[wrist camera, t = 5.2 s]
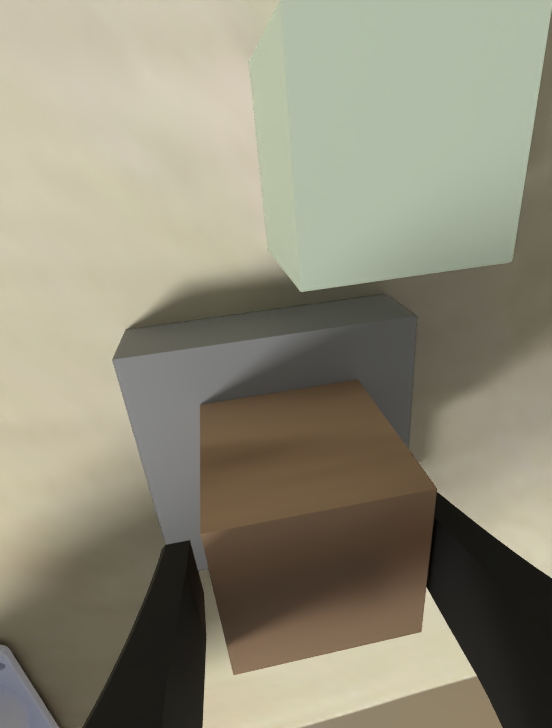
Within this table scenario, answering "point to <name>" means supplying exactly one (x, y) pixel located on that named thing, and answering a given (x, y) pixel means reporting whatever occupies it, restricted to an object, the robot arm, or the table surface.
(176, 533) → the charcoal base block
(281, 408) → the walnut cube
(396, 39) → the sage green cube
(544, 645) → the robot arm
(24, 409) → the table surface
